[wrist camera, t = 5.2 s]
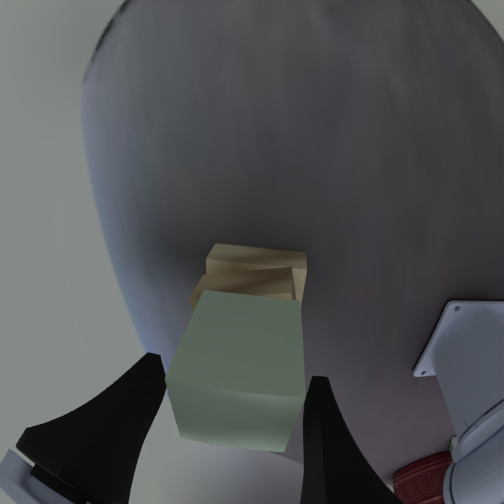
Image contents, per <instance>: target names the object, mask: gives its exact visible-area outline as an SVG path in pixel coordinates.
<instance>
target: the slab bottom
mask: <svg viewBox="0 0 504 504" xmlns="http://www.w3.org/2000/svg"><path fill="white" fill-rule="evenodd" d="M283 267H292V271H293V279H294V287H295V296H296V300H300V305H301V304H302V298H303V292H304V286H305V280H306V274H307V261H306V252H298V251H289V250H279V249H269V248H259V247H249V246H239V245H229V244H219V243H215V245H214V247H213V248H212V250H211V251H210V253H209V255H208V256H207V258H206V274H217V273H228V272H240V271H251V270H262V269H272V268H283Z"/></svg>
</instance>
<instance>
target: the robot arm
mask: <svg viewBox="0 0 504 504" xmlns="http://www.w3.org/2000/svg"><path fill="white" fill-rule="evenodd" d="M413 374H414V376H416V377H419V376H431V375H436V377H437V379H438V382H439V385H440V387H441V390H442V393H443V396H444V399H445V401H446V404H447V407H448V410H449V413H450V417H451V420H452V423H453V426H454V430H455V433H456V436H457V440H458V445H457V446H456V447H455V448H454V449H452V454H453V459H454V461H453V462H452V463H451V464H450V466H449V467H448V469H447V471H446V474H445V478H444V483H443V495H444V501H445V504H504V301H450V302H448V303H447V305H446V306H445V309H444V311H443V313H442V316H441V318H440V320H439V322H438V324H437V327H436V329H435V331H434V333H433V335H432V337H431V339H430V341H429V343H428V345H427V347H426V349H425V351H424V353H423V354H422V356H421V358H420V360H419V362H418V364H417V365H416V367H415V369H414V371H413ZM165 377H166V375H165V371H164V368H163V364H162V360H161V357H160V355H157V354H153V353H149V352H148V353H146V354H145V355H144V356H143V357H142V358H141V359H140V360H139V361H138V362H137V363H136V364H134V365H133V366H132V367H131V368H130V369H129V370H128V371H127V372H126V373H124V374H123V375H122V376H121V377H120V378H119V379H118V380H116V381H115V382H114V383H113V384H112V385H110V386H109V387H108V388H106V389H105V390H104V391H103V392H101V393H100V394H99V395H97V396H96V397H94V398H93V399H92V400H90V401H88V402H87V403H85V404H84V405H82V406H80V407H79V408H77V409H75V410H74V411H71V412H69V413H67V414H65V415H64V416H61V417H59V418H56V419H54V420H51V421H49V422H46V423H43V424H40V425H36V426H33V427H29V428H26V430H25V431H24V433H23V434H22V436H21V438H20V439H19V441H18V442H17V444H16V448H17V449H18V450H19V451H20V452H22V453H23V454H24V455H25V456H26V457H28V458H29V459H30V460H31V461H32V462H34V463H35V465H34V467H32V466H31V465H30V464H28V463H27V462H26V461H25V460H23V459H22V458H21V457H20V456H18V455H17V454H16V453H15V452H13V451H12V450H11V449H9V450H8V452H7V454H6V455H5V457H4V459H3V461H2V462H1V464H0V488H1V489H2V490H3V491H4V492H5V493H6V494H7V495H8V496H9V497H10V498H11V499H12V500H13V501H14V502H15V503H16V504H128V502H129V496H130V490H131V485H132V481H133V476H134V472H135V469H136V464H137V461H138V458H139V454H140V451H141V448H142V445H143V442H144V440H145V438H146V435H147V433H148V431H149V429H150V427H151V424H152V422H153V420H154V418H155V416H156V414H157V412H158V410H159V407H160V405H161V403H162V400H163V397H164V394H165V391H166V387H167V386H166V382H165ZM303 446H304V475H303V485H302V494H301V501H300V504H404V503H403V502H402V501H401V500H400V499H399V498H398V497H397V496H396V495H395V494H394V493H393V492H392V491H391V490H390V489H389V488H388V487H387V486H386V485H385V484H384V482H383V481H382V480H381V479H380V478H379V476H378V475H377V474H376V472H375V471H374V470H373V469H372V467H371V466H370V465H369V463H368V462H367V460H366V459H365V457H364V456H363V454H362V453H361V451H360V449H359V448H358V446H357V444H356V443H355V441H354V439H353V437H352V435H351V433H350V431H349V430H348V427H347V425H346V423H345V421H344V419H343V417H342V414H341V412H340V410H339V407H338V405H337V402H336V400H335V397H334V394H333V391H332V388H331V385H330V382H329V378H328V377H322V376H312V379H311V382H310V386H309V389H308V392H307V396H306V399H305V402H304V414H303Z"/></svg>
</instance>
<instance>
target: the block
mask: <svg viewBox="0 0 504 504" xmlns="http://www.w3.org/2000/svg"><path fill="white" fill-rule="evenodd" d="M165 382H166V386H167V390H168V394H169V398H170V401H171V405H172V409H173V412H174V416H175V419H176V423H177V426H178V429H179V433H180V436H181V438H184V439H189V440H193V441H199V442H204V443H209V444H215V445H221V446H227V447H235V448H242V449H252V450H262V451H274V452H284V451H285V448H286V446H287V443H288V441H289V439H290V436H291V434H292V431H293V429H294V426H295V424H296V421H297V419H298V416H299V413H300V411H301V408H302V405H303V403H304V400H305V373H304V353H303V335H302V319H301V305H300V300H293V299H282V298H272V297H263V296H254V295H245V294H236V293H227V292H219V291H211V290H203V292H202V294H201V297H200V299H199V301H198V303H197V306H196V308H195V310H194V312H193V314H192V317H191V319H190V321H189V323H188V326H187V328H186V330H185V333H184V335H183V337H182V339H181V342H180V344H179V346H178V349H177V351H176V353H175V356H174V358H173V360H172V363H171V365H170V367H169V370H168V372H167V374H166V377H165Z"/></svg>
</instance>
